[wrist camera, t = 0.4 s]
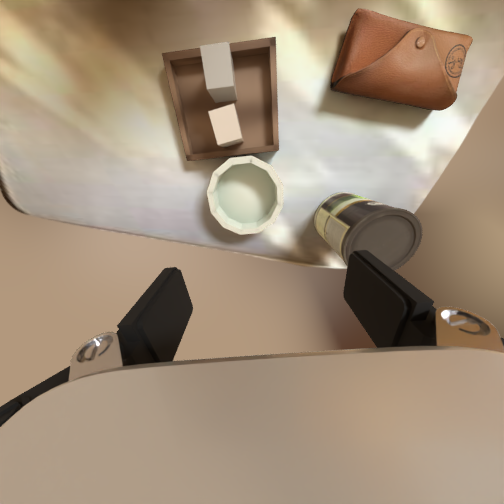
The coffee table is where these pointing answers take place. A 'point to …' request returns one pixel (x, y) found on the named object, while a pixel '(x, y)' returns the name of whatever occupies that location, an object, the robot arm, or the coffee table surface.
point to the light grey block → (219, 71)
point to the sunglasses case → (400, 61)
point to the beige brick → (226, 126)
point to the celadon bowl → (245, 195)
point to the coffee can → (368, 228)
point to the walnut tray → (247, 104)
